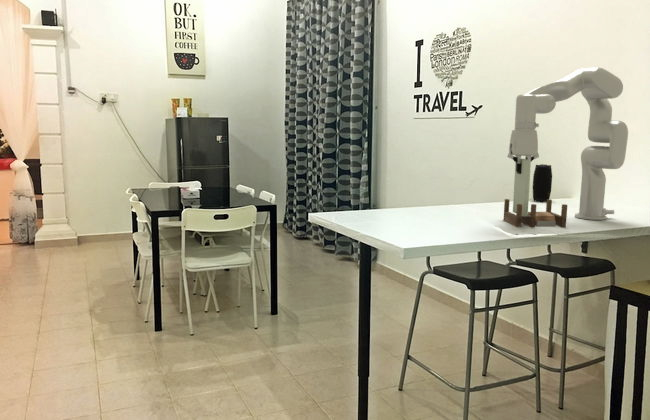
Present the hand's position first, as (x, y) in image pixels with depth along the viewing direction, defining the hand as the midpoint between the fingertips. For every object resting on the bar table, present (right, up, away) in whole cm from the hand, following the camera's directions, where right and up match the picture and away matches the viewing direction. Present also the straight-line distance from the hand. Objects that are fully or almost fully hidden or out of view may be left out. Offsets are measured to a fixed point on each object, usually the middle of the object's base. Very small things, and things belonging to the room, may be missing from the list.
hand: (522, 173), depth 222 cm
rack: (+5, -21, +3) cm, 22 cm away
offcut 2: (+8, -20, +3) cm, 22 cm away
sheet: (0, -16, +3) cm, 16 cm away
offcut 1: (+9, -18, +3) cm, 20 cm away
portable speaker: (+37, -10, +78) cm, 87 cm away
